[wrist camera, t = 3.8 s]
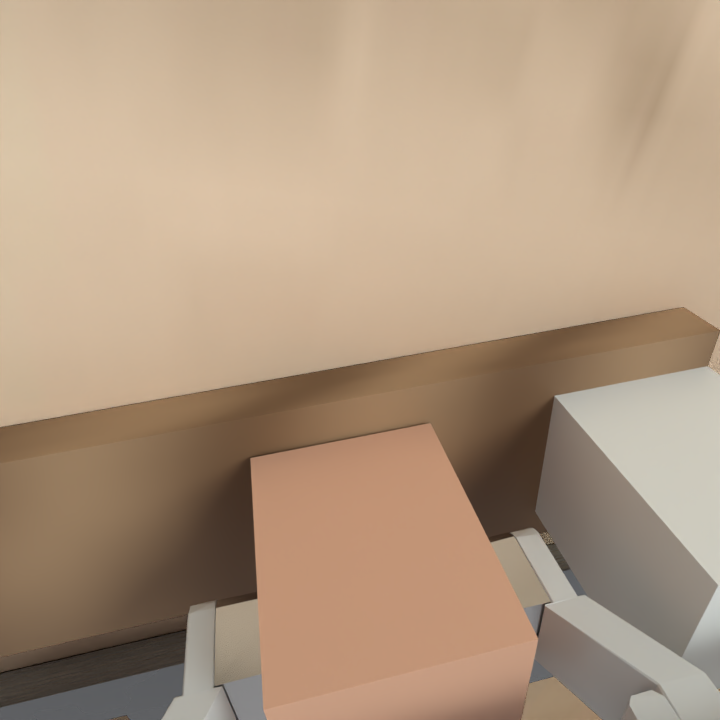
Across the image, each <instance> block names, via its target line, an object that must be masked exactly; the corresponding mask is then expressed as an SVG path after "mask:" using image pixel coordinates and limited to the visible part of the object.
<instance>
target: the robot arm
mask: <svg viewBox="0 0 720 720" xmlns="http://www.w3.org/2000/svg"><path fill="white" fill-rule="evenodd" d="M488 539H489V541H490V543H491V545H492V547H493V549H494V551H495V553H496V555H497V557H498V559H499V561H500V563H501V565H502V567H503V569H504V571H505V573H506V575H507V577H508V579H509V581H510V583H511V585H512V587H513V589H514V591H515V593H516V595H517V597H518V599H519V601H520V603H521V605H522V607H523V609H524V611H525V613H526V615H527V617H528V619H529V621H530V623H531V625H532V627H533V629H534V631H535V633H536V635H537V637H538V643H537V648H536V653H535V657H534V659H535V660H536V661H537V662H538V663H540V664H541V665H542V666H543V667H544V668H545V669H546V670H547V671H549V672H550V673H551V674H552V675H553V676H554V677H555V678H556V679H557V680H559V681H560V682H561V683H562V684H563V685H564V686H565V687H566V688H568V689H569V690H570V691H571V692H572V693H573V694H574V695H575V696H577V697H578V698H579V699H580V700H581V701H582V702H583V703H584V704H585V705H587V706H588V707H589V708H590V709H591V710H592V711H593V712H594V713H596V714H597V715H598V716H599V717H600V718H601V719H602V720H720V692H719V691H718V690H717V688H716V687H715V686H714V684H713V683H712V681H711V680H710V679H709V677H708V676H707V675H706V673H705V672H703V671H701V670H700V669H698V668H697V667H695V666H694V665H692V664H691V663H689V662H688V661H686V660H684V659H683V658H681V657H680V656H678V655H677V654H675V653H674V652H672V651H671V650H669V649H667V648H666V647H664V646H663V645H661V644H660V643H658V642H657V641H655V640H654V639H652V638H650V637H649V636H647V635H646V634H644V633H643V632H641V631H640V630H638V629H637V628H635V627H633V626H632V625H630V624H629V623H627V622H626V621H624V620H623V619H621V618H620V617H618V616H617V615H615V614H613V613H612V612H610V611H609V610H607V609H606V608H604V607H603V606H601V605H600V604H598V603H596V602H595V601H593V600H592V599H590V598H589V597H587V596H586V595H580V596H577V594H576V593H575V591H574V589H573V588H572V586H571V585H570V583H569V581H568V580H567V578H566V576H565V575H564V573H563V572H562V570H561V568H560V567H559V565H558V563H557V562H556V560H555V559H554V557H553V555H552V554H551V552H550V550H549V549H548V547H547V546H546V544H545V542H544V541H543V539H542V537H541V536H540V534H539V533H538V531H536V530H535V529H534V528H526V529H522V530H518V531H514V532H510V533H508V532H507V533H503V534H499V535H495V536H491V537H488ZM161 720H267V719H266V716H265V713H264V710H263V693H262V674H261V654H260V635H259V616H258V596H257V591H256V592H252V593H247V594H243V595H238V596H234V597H229V598H225V599H220V600H214V601H210V602H205V603H201V604H197V605H193V606H190V610H189V613H188V618H187V633H186V648H185V663H184V678H183V693H182V696H179V697H175V698H174V699H173V701H172V702H171V704H170V706H169V708H168V709H167V711H166V713H165V714H164V716H163V718H162V719H161Z"/></svg>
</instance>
